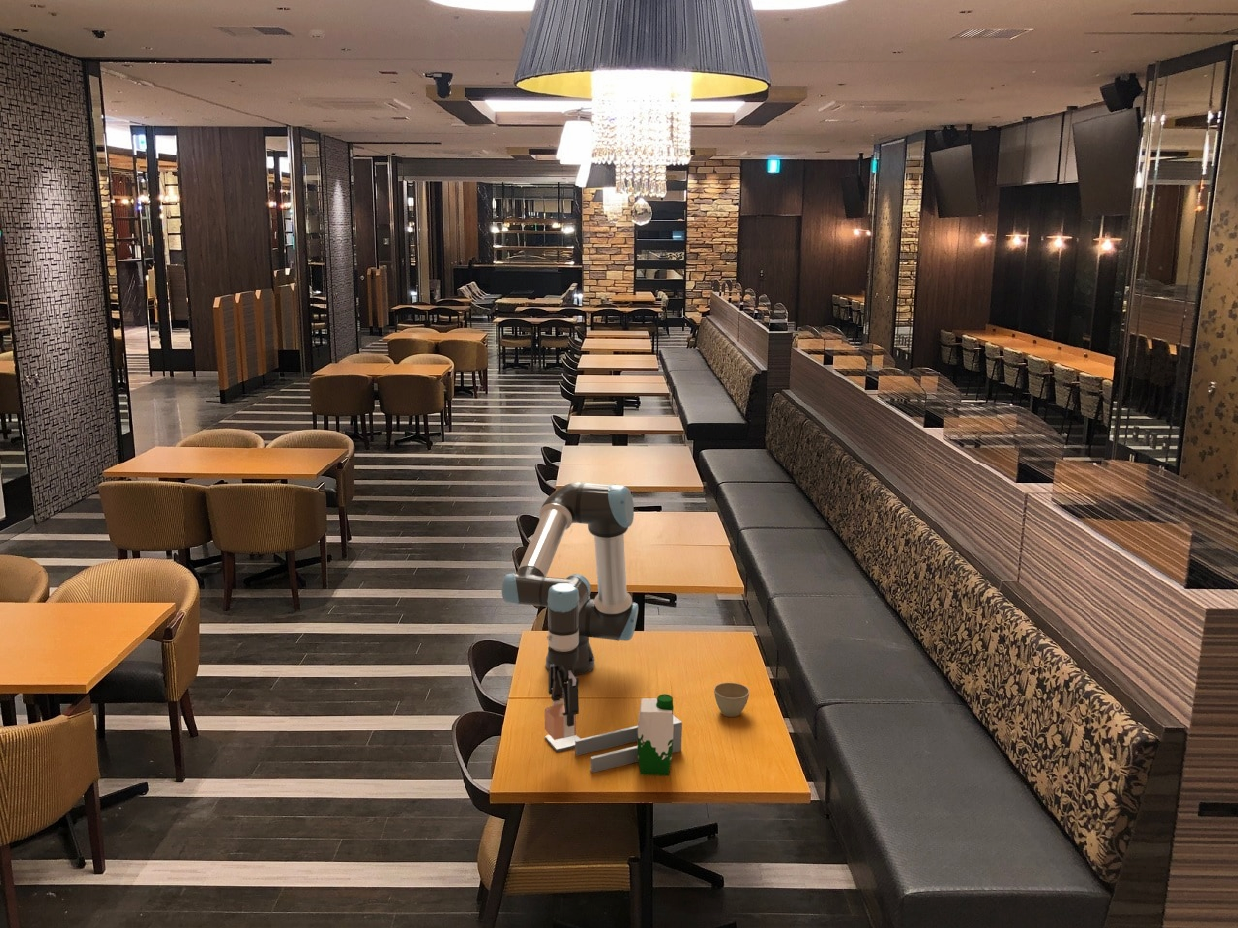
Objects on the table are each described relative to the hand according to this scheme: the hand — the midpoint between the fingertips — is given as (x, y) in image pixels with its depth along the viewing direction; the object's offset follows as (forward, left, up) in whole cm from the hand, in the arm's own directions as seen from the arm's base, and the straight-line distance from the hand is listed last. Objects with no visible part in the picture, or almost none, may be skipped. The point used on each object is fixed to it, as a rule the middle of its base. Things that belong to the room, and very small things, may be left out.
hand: (563, 729), depth 264 cm
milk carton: (+10, +21, -11) cm, 26 cm away
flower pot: (-7, +55, -11) cm, 57 cm away
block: (0, -1, 0) cm, 1 cm away
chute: (0, +19, -11) cm, 21 cm away
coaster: (-12, +6, -11) cm, 17 cm away
